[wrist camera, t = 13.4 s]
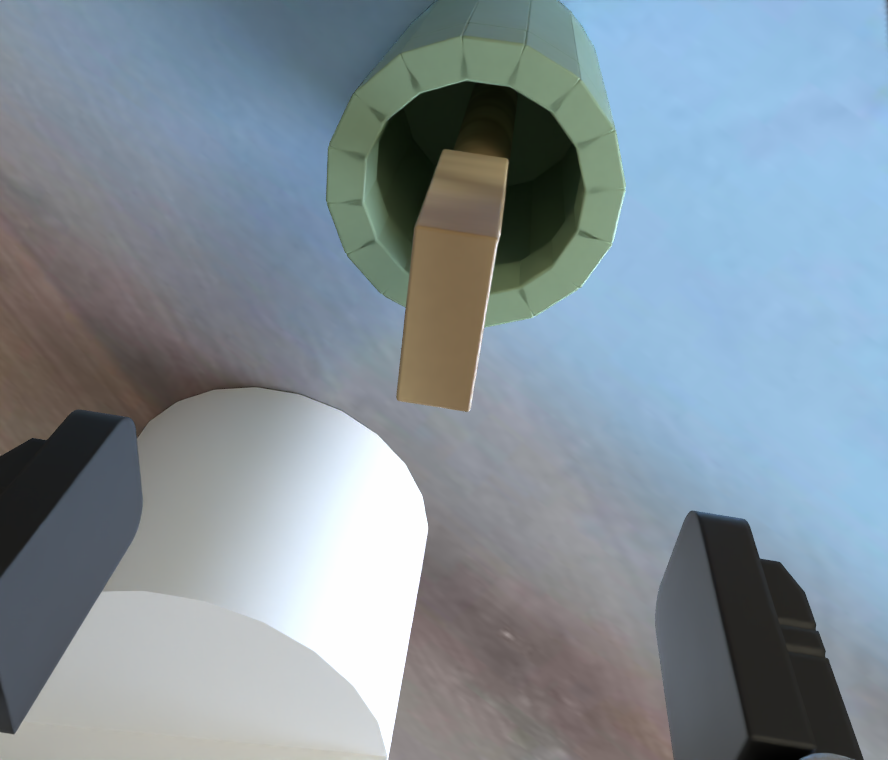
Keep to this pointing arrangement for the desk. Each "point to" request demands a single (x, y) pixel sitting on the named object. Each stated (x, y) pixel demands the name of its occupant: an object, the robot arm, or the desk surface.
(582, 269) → the jar
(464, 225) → the wooden paddle
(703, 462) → the desk surface
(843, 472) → the desk surface
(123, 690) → the cylinder
